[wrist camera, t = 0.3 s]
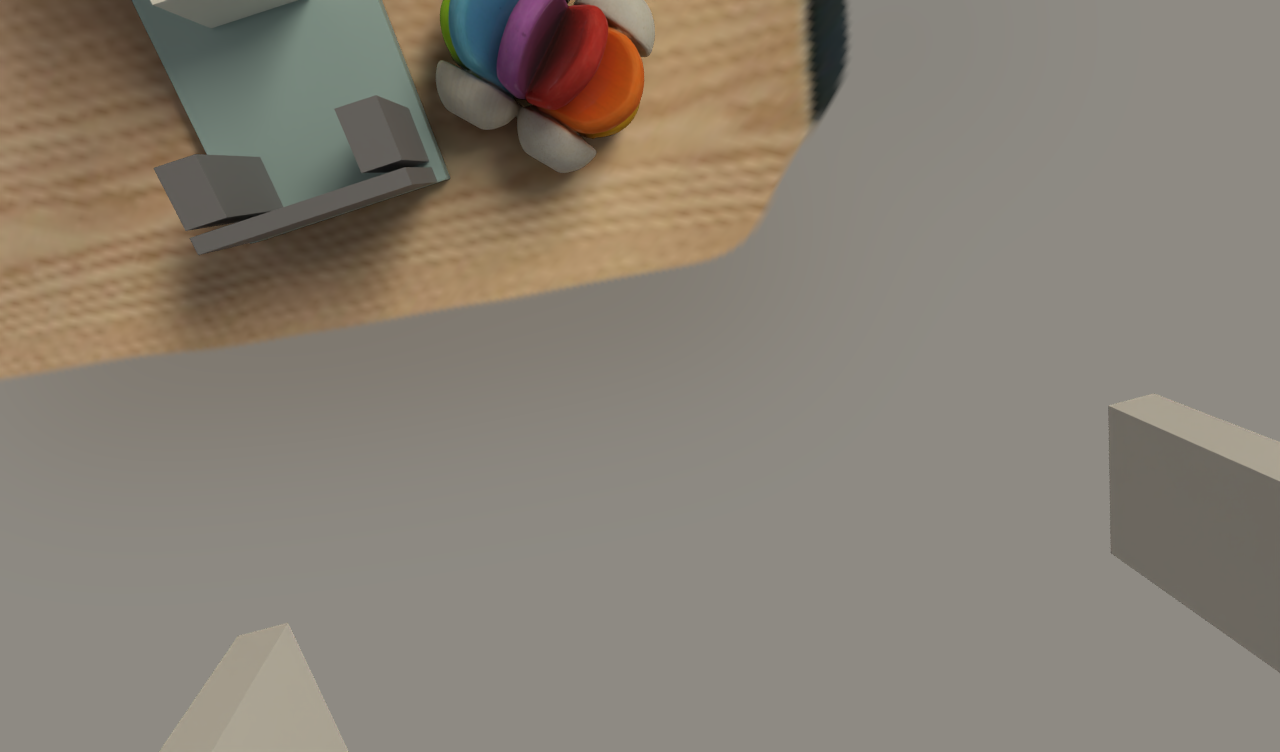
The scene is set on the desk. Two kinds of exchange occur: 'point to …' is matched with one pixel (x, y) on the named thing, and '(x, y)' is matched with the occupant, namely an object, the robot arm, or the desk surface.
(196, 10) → the block with wooden peg
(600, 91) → the rainbow disc toy
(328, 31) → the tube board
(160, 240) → the desk surface
